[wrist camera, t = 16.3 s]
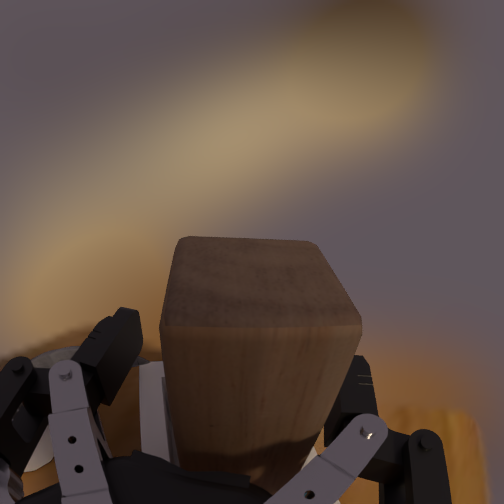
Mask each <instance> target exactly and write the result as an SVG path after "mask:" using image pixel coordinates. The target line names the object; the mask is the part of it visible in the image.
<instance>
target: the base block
mask: <svg viewBox="0 0 504 504" xmlns="http://www.w3.org/2000/svg"><path fill="white" fill-rule="evenodd" d="M139 398H140V429H141V447H142V452H143V453H147V454H150V455H154V456H157V457H161V458H163V459H165V460H166V461H168V462H170V463H172V464H174V465H176V466H178V467H180V464H179V459H178V454H177V449H176V444H175V438H174V433H173V427H172V421H171V415H170V409H169V402H168V396H167V389H166V381H165V374H164V366H163V361H156V362H150V363H148V364H144V365H140V366H139ZM315 456H317V453H316V451H315V448H314V446H313V448H312V450H311V452H310V454H309V456H308V457H307V459H306V461H305V463H304V465H303V467H302V469H303V468H304V467H305V466H306V465H307V464H308V463H309V462H310V461H311V460H312V459H313V458H314V457H315ZM302 469H301V470H302ZM334 504H340V502H339V500H337V501H336V502H335V503H334Z"/></svg>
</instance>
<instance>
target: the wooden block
mask: <svg viewBox="0 0 504 504" xmlns="http://www.w3.org/2000/svg"><path fill="white" fill-rule="evenodd" d="M159 330H160V340H161V349H162V358H163V366H164V374H165V381H166V389H167V396H168V402H169V409H170V415H171V421H172V427H173V433H174V438H175V444H176V449H177V454H178V459H179V464H180V468H182V469H184V470H187V471H223V472H229V473H235V474H242V475H249V476H251V478H250V483H252V484H255V485H257V486H259V487H261V488H263V489H265V490H266V491H268V492H269V493H270V494H272V495H274V494H275V493H276V492H278V491H279V490H280V489H281V488H282V487H283V486H284V485H285V484H287V483H288V482H289V481H290V480H291V479H292V478H293V477H294V476H295V475H296V474H297V473H298V472H300V471H301V469H302V467H303V465H304V463H305V461H306V459H307V457H308V456H309V454H310V452H311V450H312V448H313V446H314V444H315V442H316V440H317V438H318V436H319V434H320V432H321V430H322V428H323V426H324V424H325V421H326V419H327V417H328V415H329V413H330V411H331V409H332V406H333V404H334V402H335V400H336V397H337V395H338V393H339V391H340V388H341V386H342V384H343V381H344V379H345V377H346V374H347V372H348V369H349V367H350V364H351V362H352V359H353V357H354V354H355V352H356V349H357V347H358V344H359V341H360V339H361V336H362V320H361V316H360V314H359V312H358V311H357V309H356V307H355V306H354V304H353V302H352V301H351V299H350V297H349V296H348V294H347V292H346V291H345V289H344V288H343V286H342V284H341V283H340V281H339V280H338V278H337V277H336V275H335V273H334V272H333V270H332V269H331V267H330V265H329V264H328V262H327V260H326V259H325V257H324V256H323V254H322V253H321V251H320V250H319V248H318V246H317V245H315V244H313V243H311V242H309V241H296V240H273V239H249V238H224V237H222V238H221V237H197V236H196V237H195V236H188V237H184V238H181V239H180V240H179V241H178V243H177V245H176V248H175V252H174V256H173V261H172V265H171V270H170V275H169V279H168V284H167V289H166V294H165V299H164V304H163V309H162V314H161V320H160V325H159Z"/></svg>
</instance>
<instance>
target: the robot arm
mask: <svg viewBox="0 0 504 504" xmlns="http://www.w3.org/2000/svg"><path fill="white" fill-rule="evenodd" d="M142 345H143V335H142V329H141V322H140V316H139V312H138V311H137V310H134V309H129V308H124V307H120V308H119V309H118V310H117V311H116V313H115V314H114V315H113V317H111V316H108V317H106V318H104V319H103V320H101V321H100V322H99V323H98V324H97V325H96V326H95V328H94V329H93V331H91V333H90V334H89V335H88V338H86V339H85V341H84V342H83V343H82V345H81V346H80V347H79V348H78V350H77V351H76V352H75V354H74V355H73V356H72V358H71V359H70V360H63V361H60V362H57V363H56V364H54V365H53V366H52V367H51V368H36V367H34V366H33V364H32V362H31V360H30V359H29V358H27V357H16V358H13V359H11V360H10V361H9V362H8V363H7V364H6V365H5V367H4V368H3V369H2V371H1V372H0V504H334V503H335V502H336V501H337V500H338V499H339V498H340V497H341V496H342V494H343V493H344V492H345V491H346V490H347V489H348V487H349V486H350V485H351V484H352V483H353V481H354V480H355V479H356V478H357V477H360V478H364V479H367V480H371V481H375V482H379V504H452V501H451V493H450V486H449V479H448V473H447V466H446V461H445V455H444V449H443V444H442V441H441V439H440V437H439V436H438V435H437V434H436V433H434V432H433V431H430V430H427V429H420V430H417V431H415V432H414V433H412V434H411V436H410V435H406V434H402V433H399V432H395V431H392V430H390V429H389V428H387V425H386V423H385V422H384V421H383V420H382V419H381V418H379V415H378V410H377V404H376V398H375V393H374V387H373V382H372V377H371V372H370V366H369V364H368V363H367V361H366V360H365V359H364V357H363V356H359V355H354V357H353V359H352V362H351V364H350V367H349V369H348V372H347V374H346V377H345V379H344V381H343V384H342V386H341V388H340V391H339V393H338V395H337V397H336V400H335V402H334V404H333V406H332V409H331V411H330V413H329V415H328V417H327V419H326V421H325V424H324V447H327V448H326V450H325V451H324V452H323V453H322V454H320V455H317V456H315V457H314V458H313V459H312V460H311V461H310V462H309V463H308V464H307V465H306V466H305V467H304V468H303V469H302V470H301V471H300V472H298V473H297V474H296V475H295V476H294V477H293V478H292V479H291V480H290V481H289V482H288V483H287V484H285V485H284V486H283V487H282V488H281V489H280V490H279V491H278V492H276V493H275V494H274V495H272V494H270V493H269V492H268V491H266V490H265V489H263V488H261V487H259V486H257V485H255V484H252V483H250V478H251V476H249V475H242V474H235V473H229V472H223V471H187V470H184V469H182V468H180V467H178V466H176V465H174V464H172V463H170V462H168V461H166V460H165V459H163V458H161V457H157V456H154V455H150V454H147V453H143V452H140V451H137V450H134V451H133V453H132V455H131V456H121V457H114V458H113V456H112V454H111V452H110V449H109V447H108V443H107V440H106V437H105V433H104V430H103V426H102V423H101V419H100V415H99V412H98V407H99V405H100V403H102V404H105V405H108V406H110V405H111V403H112V401H113V400H114V398H115V396H116V394H117V392H118V390H119V389H120V387H121V385H122V383H123V381H124V380H125V378H126V376H127V374H128V372H129V371H130V369H131V367H132V365H133V364H134V362H135V360H136V358H137V357H138V355H139V353H140V351H141V349H142ZM21 403H22V406H21V408H20V409H19V411H18V413H17V414H16V416H15V417H14V419H13V421H12V418H13V416H14V414H15V412H16V411H17V409H18V407H19V406H20V404H21ZM48 424H49V428H50V435H51V441H52V447H53V453H54V459H55V464H56V469H57V473H58V478H59V482H58V483H56V484H54V485H52V486H49V487H47V488H45V489H42V490H40V491H38V492H35V493H33V494H31V495H28V496H26V497H24V491H23V482H22V479H21V476H22V474H23V472H24V470H25V468H26V466H27V464H28V462H29V460H30V458H31V456H32V454H33V452H34V450H35V448H36V446H37V444H38V443H39V441H40V439H41V437H42V435H43V433H44V431H45V429H46V427H47V426H48Z"/></svg>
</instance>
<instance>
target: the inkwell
mask: <svg viewBox="0 0 504 504" xmlns="http://www.w3.org/2000/svg"><path fill="white" fill-rule="evenodd" d="M79 347H80V346H71V347H66V348H62V349H57V350H51V351H48V352H45V353H43V354H41V355H39V356H37V357H35V358H33V359H31V362H32V364H33V366H34V367H36V368H51V367H52V366H53V365H54V364H56V363H57V362H60V361H63V360H70V359H71V358H72V356H73V355H74V354H75V352H76V351H77V350H78V348H79ZM148 363H150V361H148V360H146V359H144V358H141V357H139V356H138V357H137V358H136V360H135V362H134V364H133V365H132V367H135V366H140V365H144V364H148ZM21 406H22V403H21V404H20V406H19V407H18V409H17V411H16V412H15V414H14V416H13V418H12V421H13V419H14V417H15V416H16V414H17V413H18V411H19V409H20V408H21ZM53 457H54V453H53V447H52V441H51V435H50V428H49V424H48V426H47V427H46V429H45V431H44V433H43V435H42V437H41V439H40V441H39V443H38V444H37V446H36V448H35V450H34V452H33V454H32V456H31V458H30V460H29V462H28V464H27V466H26V468H25V470H24V472H28V471H35V470H37V469H39V468H40V467H42V466H44V465H45V464H47V463H49V462H50V461H51V460H52V459H53Z"/></svg>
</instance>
